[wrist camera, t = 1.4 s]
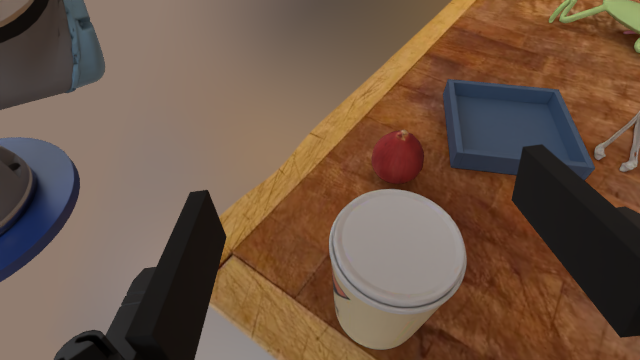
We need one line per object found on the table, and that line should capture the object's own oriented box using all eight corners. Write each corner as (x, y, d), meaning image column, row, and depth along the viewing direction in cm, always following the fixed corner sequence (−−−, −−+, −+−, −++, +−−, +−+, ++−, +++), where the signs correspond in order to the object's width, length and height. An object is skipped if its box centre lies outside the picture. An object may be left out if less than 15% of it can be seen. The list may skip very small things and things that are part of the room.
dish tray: (450, 167, 44) (457, 152, 42) (443, 94, 54) (447, 78, 52) (582, 183, 43) (595, 168, 41) (549, 104, 53) (558, 89, 51)
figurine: (593, -2, 77) (609, -30, 73) (732, 56, 62) (762, 24, 58) (534, 16, 72) (548, -13, 68) (670, 84, 56) (699, 51, 52)
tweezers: (629, 175, 44) (640, 163, 42) (588, 156, 46) (598, 144, 44) (658, 118, 53) (668, 107, 51) (622, 105, 55) (631, 93, 53)
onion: (372, 158, 45) (381, 108, 39) (418, 167, 44) (434, 117, 38) (364, 192, 42) (372, 143, 36) (413, 202, 41) (430, 153, 35)
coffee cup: (342, 249, 37) (350, 172, 28) (432, 276, 35) (473, 203, 26) (312, 339, 31) (310, 279, 22) (419, 377, 29) (466, 329, 20)
